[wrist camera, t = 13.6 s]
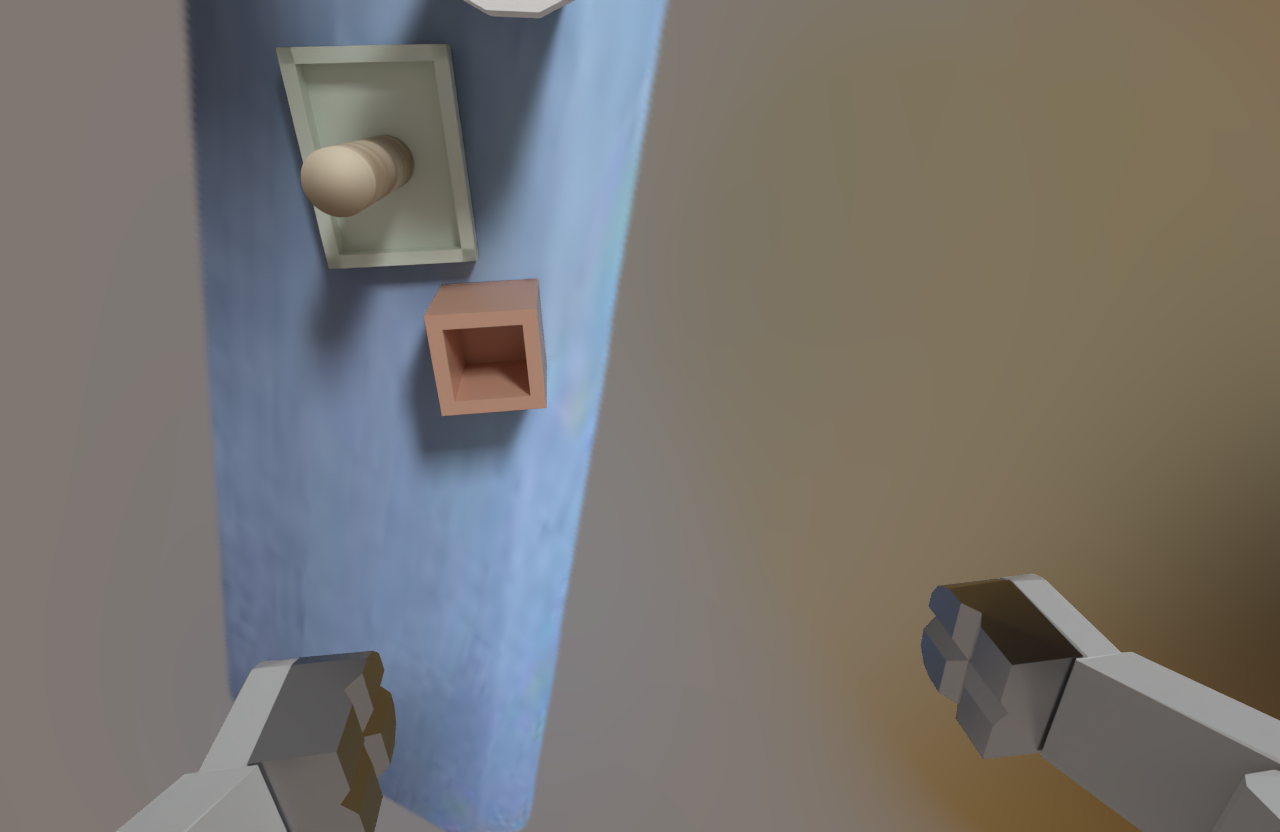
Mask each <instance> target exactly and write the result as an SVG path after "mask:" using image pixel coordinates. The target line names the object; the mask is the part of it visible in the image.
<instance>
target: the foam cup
mask: <svg viewBox="0 0 1280 832" xmlns="http://www.w3.org/2000/svg"><path fill="white" fill-rule="evenodd" d="M463 1H465V2H467V3H468V4H470V5H472V6H474V7H475V8H477V9H479V10H481V11H482V12H484V13H486V14H488V15H489V16H496V17H518V18H542V17H544V16H546V15H548V14H549V13H551V12H553V11H555V10H557V9H559V8H561V7H563V6H565V5H567V4H569V3H571V2H572V1H574V0H463Z"/></svg>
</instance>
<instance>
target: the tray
mask: <svg viewBox="0 0 1280 832" xmlns="http://www.w3.org/2000/svg"><path fill="white" fill-rule="evenodd" d="M275 49H276V53H277V57H278V61H279V65H280V69H281V73H282V78H283V82H284V86H285V90H286V94H287V98H288V102H289V107H290V111H291V115H292V119H293V123H294V127H295V131H296V135H297V140H298V144H299V148H300V152H301V156H302V160H303V163H304V161H305V159H306V158H307V157H308V156H309V155H310V154H311V153H313V152H314V151H316V150H318V149H321V148H325V147H330V146H334V145H339V144H343V143H348V142H352V141H356V140H361V139H365V138H370V137H374V136H379V135H390V136H394V137H396V138H398V139H400V140H401V141H402V142H404V143H405V144H406V145H407V147H408V148H409V149H410V151H411V153H412V155H413V159H414V172H413V175H412V177H411V179H410V180H409V181H408V182H407V183H406V184H405V185H403V186H401V187H400V188H398V189H396V190H395V191H393V192H392V193H390V194H388V195H387V196H385V197H383V198H382V199H380V200H379V201H377V202H375V203H374V204H372V205H370V206H369V207H367V208H366V209H364V210H362V211H361V212H359V213H357V214H356V215H353V216H350V217H334V216H330V215H328V214H326V213H324V212H322V211H320V210H319V209H317V208H316V207H315V206H314V205H313V206H314V210H315V214H316V218H317V222H318V226H319V230H320V234H321V239H322V243H323V247H324V251H325V255H326V259H327V263H328V268H329V269H344V268H362V267H380V266H398V265H416V264H434V263H452V262H470V261H477V258H478V256H479V251H478V244H477V237H476V229H475V222H474V215H473V208H472V200H471V193H470V186H469V178H468V171H467V164H466V156H465V149H464V142H463V135H462V127H461V120H460V113H459V105H458V98H457V91H456V84H455V76H454V69H453V62H452V54H451V47H450V46H449V45H447V44H411V45H366V46H320V47H275Z"/></svg>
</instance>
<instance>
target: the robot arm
mask: <svg viewBox="0 0 1280 832" xmlns="http://www.w3.org/2000/svg"><path fill="white" fill-rule="evenodd" d="M929 607H930V609H931V610H932V611H933V612H934V614H935V618H933V619H932V620H931V621H930V623H929V624H928V625H927V626H926V627H925V628H924V630H923V635H922V642H921V650H922V656H923V662H924V666H925V668H926V670H927V673H928V675H929V677H930V679H931V681H932V682H933V684H934V686H935V687H936V689H937V690H938V692H939V693H940V694H942V695H944V696H946V697H947V698H948V699H950V700H952V701H954V702H955V703H957V711H956V719H957V721H958V722H959V724H960V725H961V727H962V728H963V730H964V731H965V733H966V734H967V736H968V738H969V739H970V741H971V742H972V744H973V745H974V747H975V748H976V750H977V751H978V752H979V754H980V756H981V757H982V758H983V759H988V758H997V757H1006V756H1015V755H1024V754H1033V753H1041V757H1043V758H1044V759H1045V760H1047V761H1048V762H1049V763H1051V764H1052V765H1053V766H1055V767H1056V768H1058V769H1059V770H1060V771H1061V772H1063V773H1065V774H1066V775H1067V776H1068V777H1070V778H1071V779H1072V780H1074V781H1075V782H1076V783H1078V784H1079V785H1080V786H1082V787H1083V788H1084V789H1086V790H1087V791H1089V792H1090V793H1091V794H1093V795H1094V796H1095V797H1097V798H1098V799H1099V800H1101V801H1102V802H1103V803H1105V804H1106V805H1108V806H1109V807H1110V808H1112V809H1113V810H1114V811H1116V812H1117V813H1118V814H1120V815H1121V816H1122V817H1124V818H1125V819H1126V820H1128V821H1129V822H1131V823H1132V824H1133V825H1135V826H1136V827H1137V828H1139V829H1140V830H1141V831H1143V832H1280V721H1279V720H1277V719H1275V718H1272V717H1271V716H1268V715H1266V714H1264V713H1262V712H1260V711H1258V710H1255V709H1253V708H1251V707H1249V706H1247V705H1245V704H1243V703H1240V702H1238V701H1236V700H1234V699H1232V698H1230V697H1227V696H1225V695H1223V694H1221V693H1219V692H1217V691H1215V690H1212V689H1210V688H1208V687H1206V686H1204V685H1201V684H1199V683H1197V682H1195V681H1193V680H1191V679H1189V678H1186V677H1184V676H1182V675H1180V674H1178V673H1176V672H1174V671H1172V670H1169V669H1167V668H1165V667H1163V666H1161V665H1158V664H1156V663H1154V662H1152V661H1150V660H1147V659H1146V658H1143V657H1141V656H1139V655H1137V654H1135V653H1133V652H1126V653H1121V652H1120V651H1118V650H1117V648H1115V646H1114V645H1112V644H1111V643H1110V642H1109V641H1108V640H1107V639H1106V638H1105V637H1104V636H1103V635H1102V634H1101V633H1100V632H1099V631H1098V630H1097V629H1096V628H1095V627H1094V626H1093V625H1092V624H1091V623H1090V622H1088V620H1086V619H1085V618H1084V617H1083V616H1082V615H1081V614H1080V613H1079V612H1078V611H1077V610H1076V609H1075V608H1074V607H1073V606H1072V605H1071V604H1070V603H1069V602H1068V601H1067V600H1066V599H1065V598H1064V597H1063V596H1062V595H1061V594H1060V593H1058V592H1057V591H1056V590H1055V589H1054V588H1053V587H1052V586H1051V585H1050V584H1049V583H1048V582H1047V581H1046V580H1045V579H1043V578H1042V577H1040V576H1037V575H1035V574H1026V575H1018V576H1011V577H1003V578H1000V579H989V580H980V581H972V582H964V583H956V584H949V585H940V586H937V588H936V589H935V590H934V591H933V592H932V595H931V598H930V603H929ZM383 674H384V667H383V664H382V661H381V658H380V655H379V653H378V652H375V651H366V652H354V653H343V654H332V655H321V656H310V657H299V658H298V659H286V660H275V661H263V662H260V663H259V664H258V665H257V666H255V667H254V668H253V669H252V670H251V671H250V673H249V675H248V677H247V679H246V681H245V682H244V684H243V686H242V688H241V690H240V692H239V694H238V696H237V698H236V700H235V702H234V703H233V705H232V707H231V709H230V711H229V713H228V715H227V717H226V719H225V721H224V723H223V725H222V726H221V728H220V730H219V732H218V734H217V736H216V738H215V740H214V742H213V744H212V746H211V747H210V749H209V751H208V753H207V755H206V757H205V759H204V761H203V763H202V765H201V767H200V768H199V770H198V772H197V773H190V774H185V775H183V776H182V777H181V778H180V779H179V780H177V781H176V782H175V783H174V784H173V785H171V786H170V787H169V788H168V789H166V790H165V791H164V792H163V793H162V794H160V795H159V796H158V797H157V798H156V799H155V800H153V801H152V802H151V803H150V804H148V805H147V806H146V807H145V808H144V809H142V810H141V811H140V812H139V813H138V814H136V815H135V816H134V817H133V818H132V819H130V820H129V821H128V822H127V823H126V824H125V825H123V826H122V827H121V828H120V829H118V830H117V831H116V832H374V830H375V826H376V822H377V818H378V814H379V810H380V806H381V801H382V797H383V796H382V793H381V789H380V786H379V783H378V780H377V779H378V778H379V777H380V775H381V774H382V773H383V772H384V771H385V770H386V769H387V768H388V767H389V766H390V763H391V759H392V754H393V750H394V745H395V730H396V717H395V708H394V703H393V699H392V695H391V693H390V692H389V691H387V690H386V689H384V688H383V687H381V686H380V684H381V681H382V677H383Z"/></svg>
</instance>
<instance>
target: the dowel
mask: <svg viewBox="0 0 1280 832" xmlns="http://www.w3.org/2000/svg"><path fill="white" fill-rule="evenodd" d="M413 172H414V159H413V155H412V153H411V151H410V149H409V148H408V147H407V145H406V144H405V143H404V142H402V141H401V140H400V139H398V138H396V137H394V136H390V135H379V136H374V137H370V138H365V139H361V140H356V141H352V142H348V143H343V144H339V145H334V146H330V147H325V148H321V149H318V150H316V151H314V152H313V153H311V154H310V155H309V156H308V157H307V158H306V159H305V161H304V163H303V165H302V169H301V184H302V188H303V190H304V193H305V194H306V196H307V198H308V199H309V201H310V202H311V203H312V204H313V205H314V206H315V207H316V208H317V209H319V210H320V211H322V212H324V213H326V214H328V215H330V216H334V217H350V216H353V215H356V214H357V213H359V212H361V211H362V210H364V209H366V208H367V207H369V206H370V205H372V204H374V203H375V202H377V201H379V200H380V199H382V198H383V197H385V196H387V195H388V194H390V193H392V192H393V191H395V190H396V189H398V188H400V187H401V186H403V185H405V184H406V183H407V182H408V181H409V180H410V179H411V177H412V175H413Z"/></svg>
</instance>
